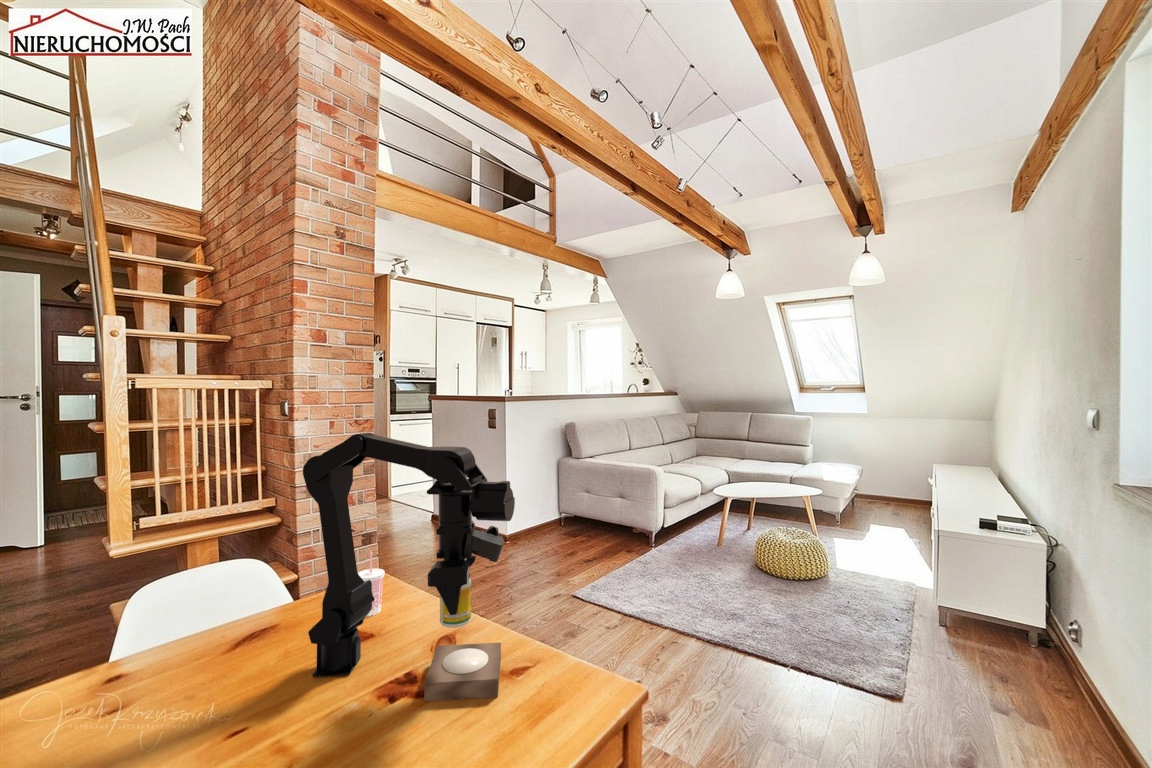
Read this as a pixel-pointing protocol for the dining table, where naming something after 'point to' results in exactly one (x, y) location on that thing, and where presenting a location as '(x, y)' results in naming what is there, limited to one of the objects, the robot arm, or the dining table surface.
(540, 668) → the dining table surface
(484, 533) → the robot arm
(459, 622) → the supplement bottle
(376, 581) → the beverage cup
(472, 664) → the brown flat square block
